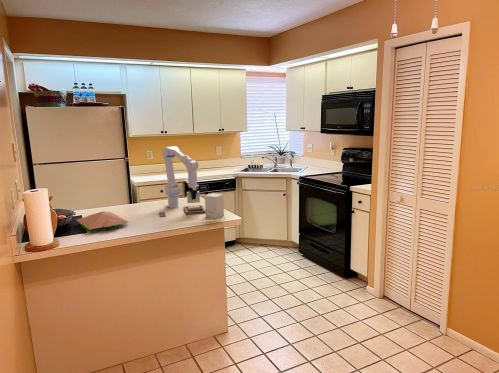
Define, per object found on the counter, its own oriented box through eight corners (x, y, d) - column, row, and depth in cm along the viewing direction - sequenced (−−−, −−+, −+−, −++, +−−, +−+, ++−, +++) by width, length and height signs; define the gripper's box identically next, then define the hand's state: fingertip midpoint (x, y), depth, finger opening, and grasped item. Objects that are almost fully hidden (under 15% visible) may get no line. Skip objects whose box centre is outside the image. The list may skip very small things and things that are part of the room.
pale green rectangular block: (187, 201, 251) (186, 191, 249) (199, 201, 253) (198, 191, 251) (187, 203, 247) (187, 192, 246) (199, 202, 249) (199, 192, 248)
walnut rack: (183, 209, 261) (183, 206, 261) (202, 208, 265) (201, 205, 264) (186, 215, 246) (186, 212, 245) (205, 214, 249) (205, 211, 249)
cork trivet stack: (186, 209, 260) (186, 206, 259) (199, 208, 262) (199, 205, 262) (187, 210, 255) (187, 208, 254) (200, 209, 257) (200, 207, 257)
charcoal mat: (159, 213, 253) (159, 212, 253) (180, 211, 256) (180, 210, 256) (160, 217, 243) (160, 216, 243) (181, 215, 247) (181, 214, 247)
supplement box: (224, 216, 243) (224, 194, 240) (216, 219, 236) (215, 197, 233) (213, 214, 248) (213, 192, 245) (205, 217, 241) (204, 195, 238)
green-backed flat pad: (91, 236, 208) (90, 222, 206) (74, 223, 232) (72, 210, 231) (130, 227, 222) (129, 214, 221) (110, 216, 247) (109, 204, 245)
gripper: (200, 180, 241) (200, 200, 244) (197, 176, 255) (197, 195, 257) (189, 180, 239) (190, 201, 242) (186, 177, 253) (187, 196, 255)
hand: (193, 198), depth 249 cm, fingers closed on pale green rectangular block, 4 cm apart
